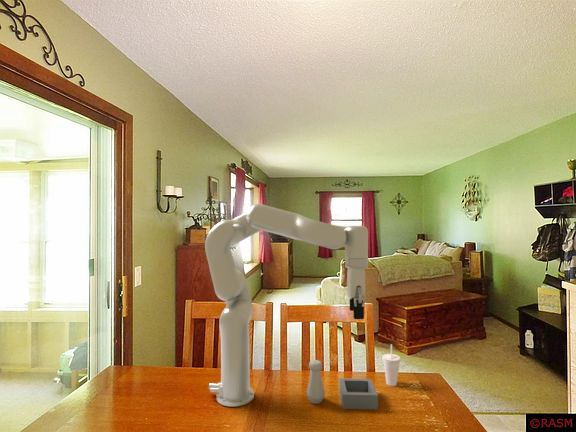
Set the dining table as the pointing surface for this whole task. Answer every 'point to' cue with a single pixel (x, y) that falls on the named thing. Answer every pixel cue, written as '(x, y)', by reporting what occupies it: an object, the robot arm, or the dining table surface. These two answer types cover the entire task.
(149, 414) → the dining table surface
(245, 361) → the robot arm
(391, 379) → the smoothie
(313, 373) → the salt shaker
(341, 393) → the socket holder
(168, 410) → the dining table surface
